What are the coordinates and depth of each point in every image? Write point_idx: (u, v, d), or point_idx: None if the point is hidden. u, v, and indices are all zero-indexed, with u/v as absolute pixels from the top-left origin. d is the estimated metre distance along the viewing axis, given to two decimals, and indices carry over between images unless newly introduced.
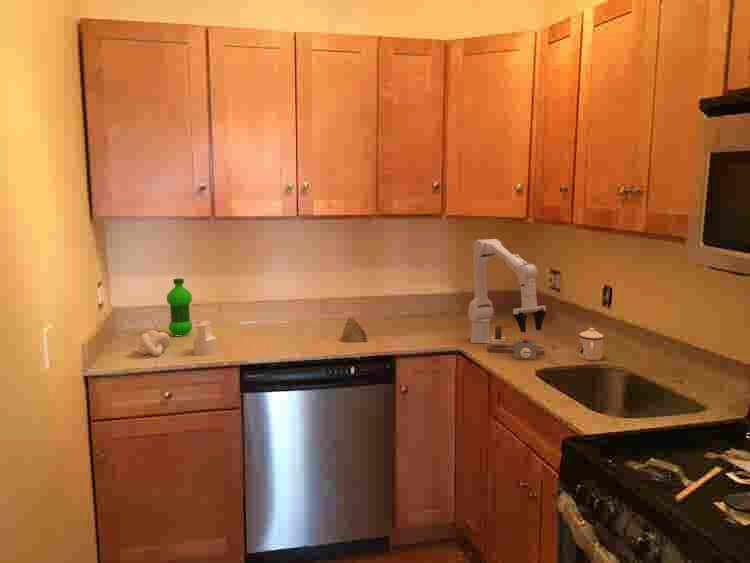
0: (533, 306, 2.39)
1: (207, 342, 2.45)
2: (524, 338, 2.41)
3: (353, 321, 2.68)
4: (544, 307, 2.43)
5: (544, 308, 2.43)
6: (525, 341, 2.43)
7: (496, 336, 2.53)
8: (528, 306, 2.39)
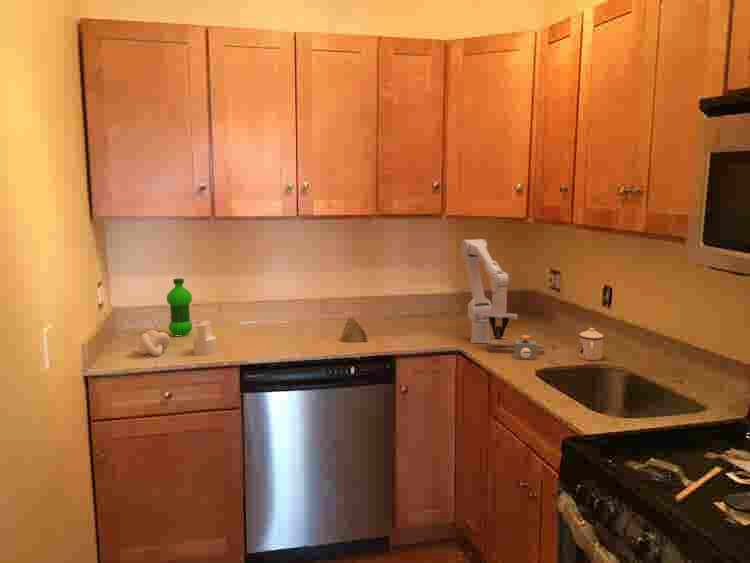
0: (498, 314, 2.50)
1: (207, 342, 2.45)
2: (524, 338, 2.41)
3: (353, 321, 2.68)
4: (515, 316, 2.51)
5: (515, 317, 2.51)
6: (525, 341, 2.43)
7: (496, 336, 2.53)
8: (493, 313, 2.51)
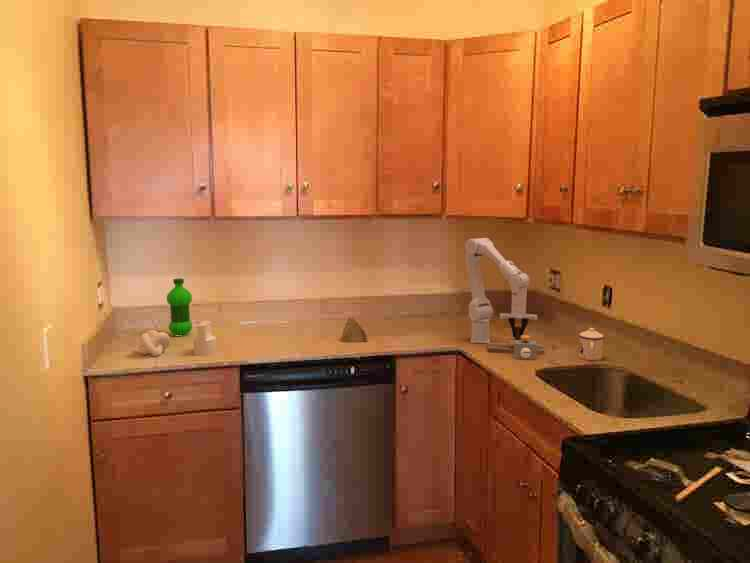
0: (517, 314, 2.49)
1: (207, 342, 2.45)
2: (524, 338, 2.41)
3: (353, 321, 2.68)
4: (535, 317, 2.50)
5: (535, 318, 2.50)
6: (525, 341, 2.43)
7: (515, 337, 2.52)
8: (513, 313, 2.50)
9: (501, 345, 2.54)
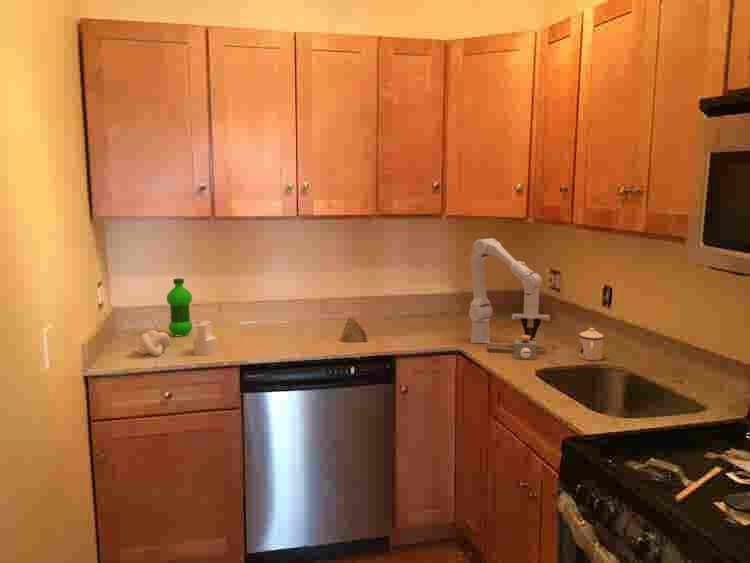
0: (530, 315, 2.48)
1: (207, 342, 2.45)
2: (524, 338, 2.41)
3: (353, 321, 2.68)
4: (547, 317, 2.49)
5: (547, 318, 2.49)
6: (525, 341, 2.43)
7: None
8: (525, 314, 2.49)
9: (501, 345, 2.54)
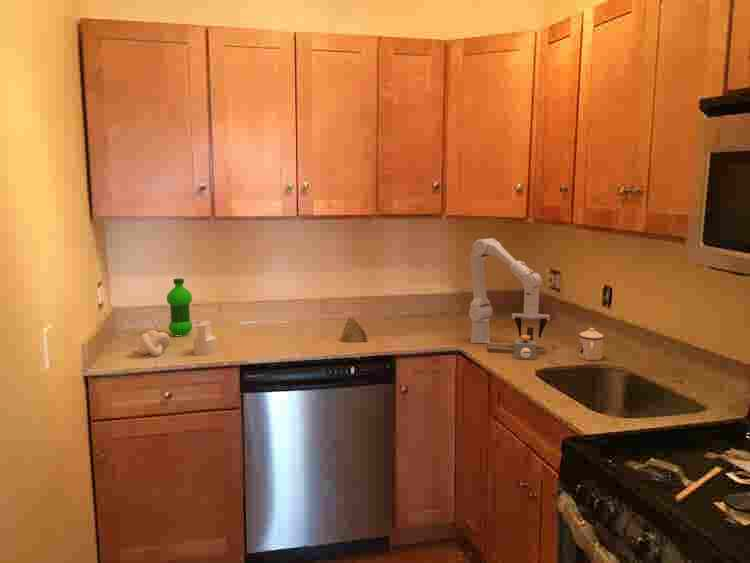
0: (530, 314, 2.48)
1: (207, 342, 2.45)
2: (524, 338, 2.41)
3: (353, 321, 2.68)
4: (547, 317, 2.49)
5: (547, 318, 2.49)
6: (525, 341, 2.43)
7: None
8: (525, 313, 2.49)
9: (501, 345, 2.54)
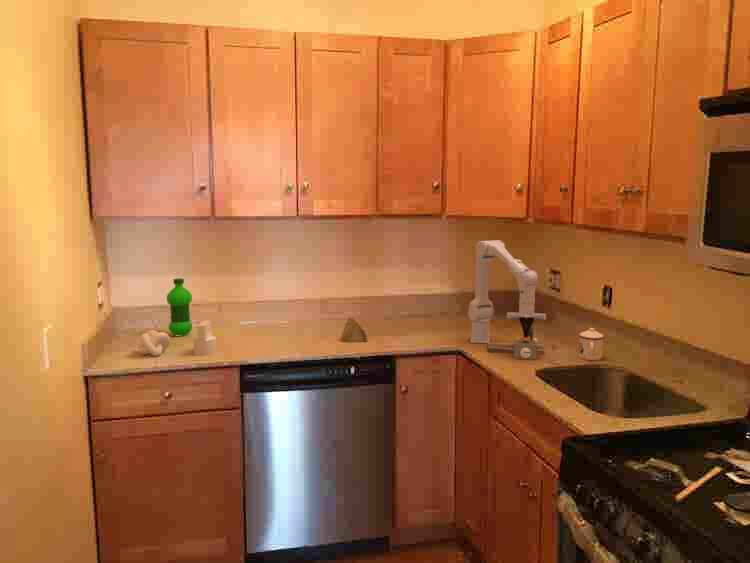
0: (526, 313, 2.39)
1: (207, 342, 2.45)
2: (524, 339, 2.42)
3: (353, 321, 2.68)
4: (544, 316, 2.40)
5: (544, 317, 2.40)
6: (525, 342, 2.43)
7: None
8: (521, 312, 2.40)
9: (501, 345, 2.54)
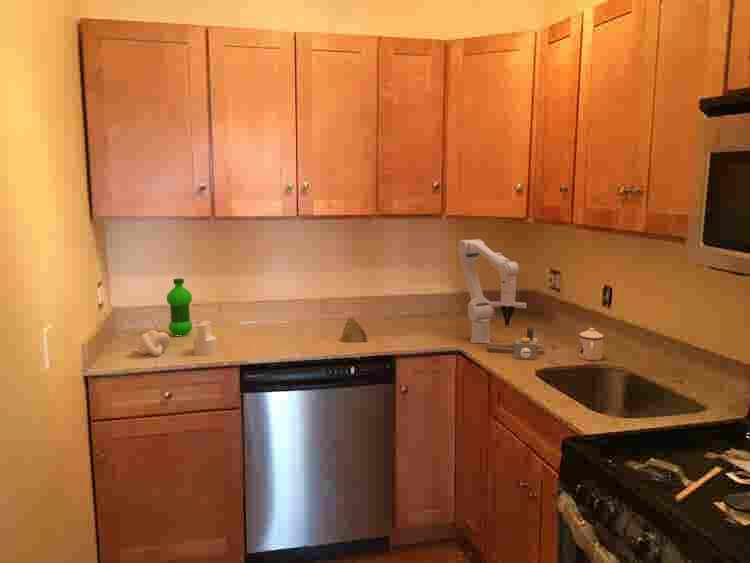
0: (507, 302, 2.49)
1: (207, 342, 2.45)
2: (524, 341, 2.42)
3: (353, 321, 2.68)
4: (524, 305, 2.50)
5: (524, 306, 2.50)
6: None
7: (528, 337, 2.52)
8: (502, 301, 2.50)
9: (501, 345, 2.54)
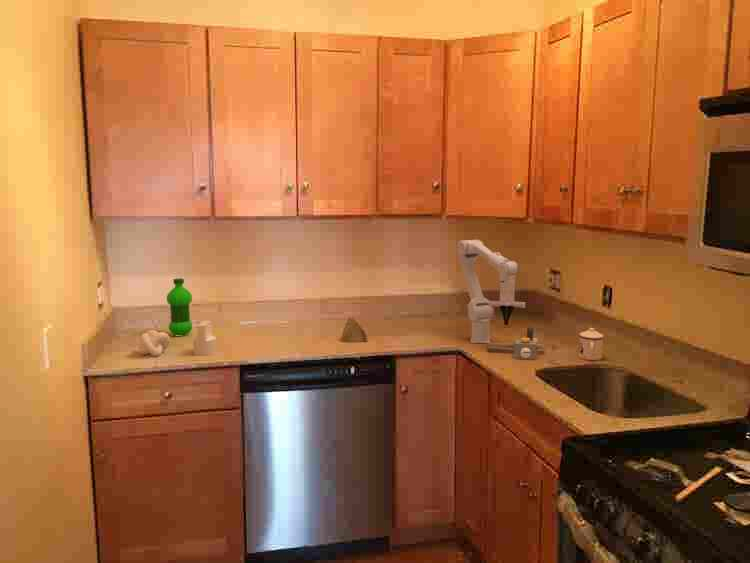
0: (506, 302, 2.50)
1: (207, 342, 2.45)
2: (524, 341, 2.42)
3: (353, 321, 2.68)
4: (523, 304, 2.51)
5: (523, 305, 2.51)
6: None
7: (528, 337, 2.52)
8: (501, 301, 2.51)
9: (501, 345, 2.54)
